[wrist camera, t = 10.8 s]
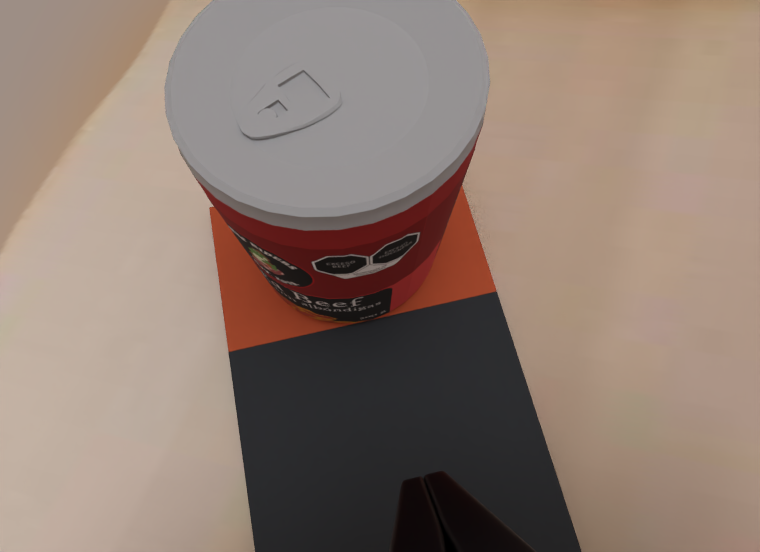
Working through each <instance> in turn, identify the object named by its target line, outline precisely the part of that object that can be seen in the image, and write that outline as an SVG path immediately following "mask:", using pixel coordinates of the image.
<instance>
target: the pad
mask: <svg viewBox="0 0 760 552" xmlns="http://www.w3.org/2000/svg"><path fill="white" fill-rule="evenodd" d="M210 216H211V223H212V231H213V238H214V246H215V253H216V261H217V268H218V276H219V283H220V291H221V298H222V306H223V313H224V321H225V328H226V336H227V343H228V351H229V352H231V351H236V350H240V349H245V348H249V347H254V346H258V345H262V344H267V343H271V342H276V341H280V340H285V339H289V338H293V337H298V336H302V335H307V334H311V333H315V332H320V331H324V330H329V329H333V328H338V327H342V326H346V325H351V324H355V323H332V322H326V321H320V320H317V319H314V318H311V317H309V316H306V315H304V314H302V313H300V312H299V311H297V310H295V309H294V308H292V307H291V306H289V305H288V304H287V303H286V302H285V301H284V300H283V299H282V298H281V297H280V296H279V295H278V294H277V293H276V292H275V291H274V289H273V288H272V286H271V285H270V284H269V282H268V281H267V279H266V278H265V277H264V275H263V274H262V272H261V271H260V270H259V268H258V267H257V265H256V264H255V263H254V261H253V260H252V258H251V257H250V256H249V254H248V253H247V251H246V250H245V249H244V247H243V246H242V245H241V243H240V242H239V240H238V239H237V238H236V236H235V235H234V233H233V232H232V231H231V229H230V228H229V226H228V225H227V224H226V222H225V221H224V219H223V218H222V217H221V215H220V214H219V212H218V211H217V210H216V208H215V207H210ZM492 292H496V288H495V285H494V282H493V279H492V276H491V273H490V270H489V267H488V264H487V261H486V257H485V254H484V251H483V248H482V245H481V242H480V239H479V236H478V233H477V230H476V227H475V224H474V221H473V218H472V214H471V211H470V208H469V205H468V202H467V199H466V196H465V193H464V190H463V187H462V186H461V188H460V191H459V194H458V197H457V199H456V202H455V205H454V208H453V210H452V213H451V216H450V218H449V221H448V224H447V227H446V229H445V232H444V235H443V238H442V240H441V243H440V246H439V248H438V251H437V254H436V257H435V259H434V262H433V264H432V267H431V269H430V271H429V274H428V276H427V277H426V279H425V280H424V282H423V283H422V284H421V286H420V287H419V289H418V290H417V291H416V292H415V293H414V294H413V295H412V296H411V297H410V298H409V299H408V300H407V301H406V302H404V303H403V304H401V305H400V306H398V307H397V308H395V309H394V310H392V311H391V312H389V313H386V314H384V315H382V316H379V317H377V318H382V317H386V316H391V315H395V314H400V313H404V312H408V311H413V310H417V309H422V308H426V307H430V306H435V305H439V304H444V303H448V302H453V301H457V300H461V299H466V298H470V297H475V296H479V295H484V294H488V293H492ZM377 318H374V319H377ZM371 320H373V319H371ZM366 321H369V320H366ZM362 322H364V321H362ZM357 323H360V322H357Z"/></svg>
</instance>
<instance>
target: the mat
mask: <svg viewBox="0 0 760 552" xmlns="http://www.w3.org/2000/svg"><path fill="white" fill-rule="evenodd" d="M229 358H230V366H231V373H232V381H233V388H234V396H235V403H236V410H237V418H238V425H239V433H240V440H241V448H242V455H243V463H244V470H245V478H246V485H247V493H248V500H249V508H250V515H251V523H252V530H253V538H254V545H255V552H389V549H390V544H391V538H392V533H393V527H394V522H395V516H396V511H397V505H398V500H399V494H400V489H401V484H402V482H403V481H404V480H407V479H411V478H415V477H419V476H421V477H422V478H423V479H424V476H425V475H427V474H430V473H434V472H438V471H444V472H446V473H447V474H448V475H449V476H451V477H452V478H453V479H454V480H455V481H456V482H457V483H459V484H460V485H461V486H462V487H463V488H464V489H465V490H467V491H468V492H469V493H470V494H471V495H472V496H473V497H475V498H476V499H477V500H478V501H479V502H480V503H481V504H483V505H484V506H485V507H486V508H487V509H488V510H490V511H491V512H492V513H493V514H494V515H495V516H496V517H498V518H499V519H500V520H501V521H502V522H503V523H504V524H506V525H507V526H508V527H509V528H510V529H511V530H512V531H514V532H515V533H516V534H517V535H518V536H519V537H520V538H522V539H523V540H524V541H525V542H526V543H527V544H528V545H530V546H531V547H532V548H533V549H534V550H535V551H536V552H581V549H580V546H579V543H578V540H577V537H576V534H575V530H574V527H573V524H572V521H571V518H570V515H569V512H568V509H567V506H566V503H565V500H564V497H563V494H562V491H561V487H560V484H559V481H558V478H557V475H556V472H555V469H554V466H553V463H552V460H551V457H550V454H549V451H548V448H547V445H546V441H545V438H544V435H543V432H542V429H541V426H540V423H539V420H538V417H537V414H536V411H535V408H534V405H533V402H532V398H531V395H530V392H529V389H528V386H527V383H526V380H525V377H524V374H523V371H522V368H521V365H520V362H519V359H518V356H517V352H516V349H515V346H514V343H513V340H512V337H511V334H510V331H509V328H508V325H507V322H506V319H505V316H504V313H503V310H502V306H501V303H500V300H499V297H498V294H497V292H492V293H488V294H484V295H479V296H475V297H470V298H466V299H461V300H457V301H453V302H448V303H444V304H439V305H435V306H430V307H426V308H422V309H417V310H413V311H408V312H404V313H400V314H395V315H391V316H386V317H382V318H377V319H373V320H369V321H364V322H360V323H355V324H351V325H346V326H342V327H338V328H333V329H329V330H324V331H320V332H315V333H311V334H307V335H302V336H298V337H293V338H289V339H285V340H280V341H276V342H271V343H267V344H262V345H258V346H254V347H249V348H245V349H240V350H236V351H231V352H229Z"/></svg>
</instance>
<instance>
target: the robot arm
mask: <svg viewBox="0 0 760 552" xmlns="http://www.w3.org/2000/svg"><path fill="white" fill-rule="evenodd" d="M389 552H536V551H535V550H534V549H533V548H532V547H531V546H530V545H528V544H527V543H526V542H525V541H524V540H523V539H522V538H520V537H519V536H518V535H517V534H516V533H515V532H514V531H512V530H511V529H510V528H509V527H508V526H507V525H506V524H504V523H503V522H502V521H501V520H500V519H499V518H498V517H496V516H495V515H494V514H493V513H492V512H491V511H490V510H488V509H487V508H486V507H485V506H484V505H483V504H481V503H480V502H479V501H478V500H477V499H476V498H475V497H473V496H472V495H471V494H470V493H469V492H468V491H467V490H465V489H464V488H463V487H462V486H461V485H460V484H459V483H457V482H456V481H455V480H454V479H453V478H452V477H451V476H449V475H448V474H447V473H446V472H444V471H438V472H434V473H430V474H427V475H425V476H424V479H423V478H422V477H421V476H419V477H415V478H411V479H407V480H404V481H403V482H402V484H401V489H400V494H399V500H398V505H397V511H396V516H395V522H394V527H393V533H392V538H391V544H390V549H389Z"/></svg>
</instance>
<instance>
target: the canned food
mask: <svg viewBox="0 0 760 552" xmlns="http://www.w3.org/2000/svg"><path fill="white" fill-rule="evenodd" d="M489 86H490V77H489V62H488V56H487V53H486V49H485V46H484V43H483V40H482V37H481V34H480V32H479V31H478V29H477V27H476V26H475V24H474V22H473V21H472V19H471V17H470V16H469V14H468V13H467V11H466V10H465V9H464V8H463V7H462V6H461V5H460V4H459V3H458V2H457V1H456V0H213V1H212V2H210V3H209V4H208V5H207V6H206V7H205V8H204V9H203V10H202V11H201V12H200V13H199V14H198V15H197V16H196V17H195V18H194V20H193V21H192V23H191V24H190V25H189V27H188V28H187V29H186V31H185V32H184V34H183V35H182V36H181V38H180V40H179V42H178V44H177V47H176V49H175V51H174V53H173V55H172V58H171V60H170V63H169V68H168V73H167V78H166V83H165V109H166V116H167V119H168V122H169V126H170V129H171V132H172V135H173V139H174V140H175V142H176V144H177V145H178V148H179V151H180V154H181V156H182V157H183V159H184V161H185V162H186V164H187V165H188V167H189V169H190V170H191V172H192V174H193V175H194V177H195V178H196V180H197V181H198V183H199V184H200V185H201V187H202V189H203V190H204V192H205V193H206V195H207V197H208V198H209V200H210V201H211V203H212V204H213V205H214V207H215V208H216V210H217V211H218V212H219V214H220V215H221V217H222V218H223V219H224V221H225V222H226V224H227V225H228V226H229V228H230V229H231V231H232V232H233V233H234V235H235V236H236V238H237V239H238V240H239V242H240V243H241V245H242V246H243V247H244V249H245V250H246V251H247V253H248V254H249V256H250V257H251V258H252V260H253V261H254V263H255V264H256V265H257V267H258V268H259V270H260V271H261V272H262V274H263V275H264V277H265V278H266V279H267V281H268V282H269V284H270V285H271V286H272V288H273V289H274V291H275V292H276V293H277V294H278V295H279V296H280V297H281V298H282V299H283V300H284V301H285V302H286V303H287V304H288V305H289V306H291V307H292V308H294V309H295V310H297V311H299V312H300V313H302V314H304V315H306V316H309V317H311V318H314V319H317V320H320V321H326V322H332V323H357V322H362V321H366V320H371V319H374V318H377V317H379V316H382V315H384V314H386V313H389V312H391V311H392V310H394V309H395V308H397V307H398V306H400V305H401V304H403V303H404V302H406V301H407V300H408V299H409V298H410V297H411V296H412V295H413V294H414V293H415V292H416V291H417V290H418V289H419V287H420V286H421V284H422V283H423V282H424V280H425V279H426V277H427V276H428V274H429V271H430V269H431V267H432V264H433V262H434V259H435V257H436V254H437V251H438V248H439V246H440V243H441V240H442V238H443V235H444V232H445V229H446V227H447V224H448V221H449V218H450V216H451V213H452V210H453V208H454V205H455V202H456V199H457V197H458V194H459V191H460V188H461V186H462V183H463V180H464V178H465V175H466V172H467V169H468V167H469V164H470V161H471V158H472V156H473V153H474V150H475V146H476V142H477V139H478V137H479V134H480V131H481V128H482V125H483V120H484V115H485V109H486V103H487V97H488V91H489Z"/></svg>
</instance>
